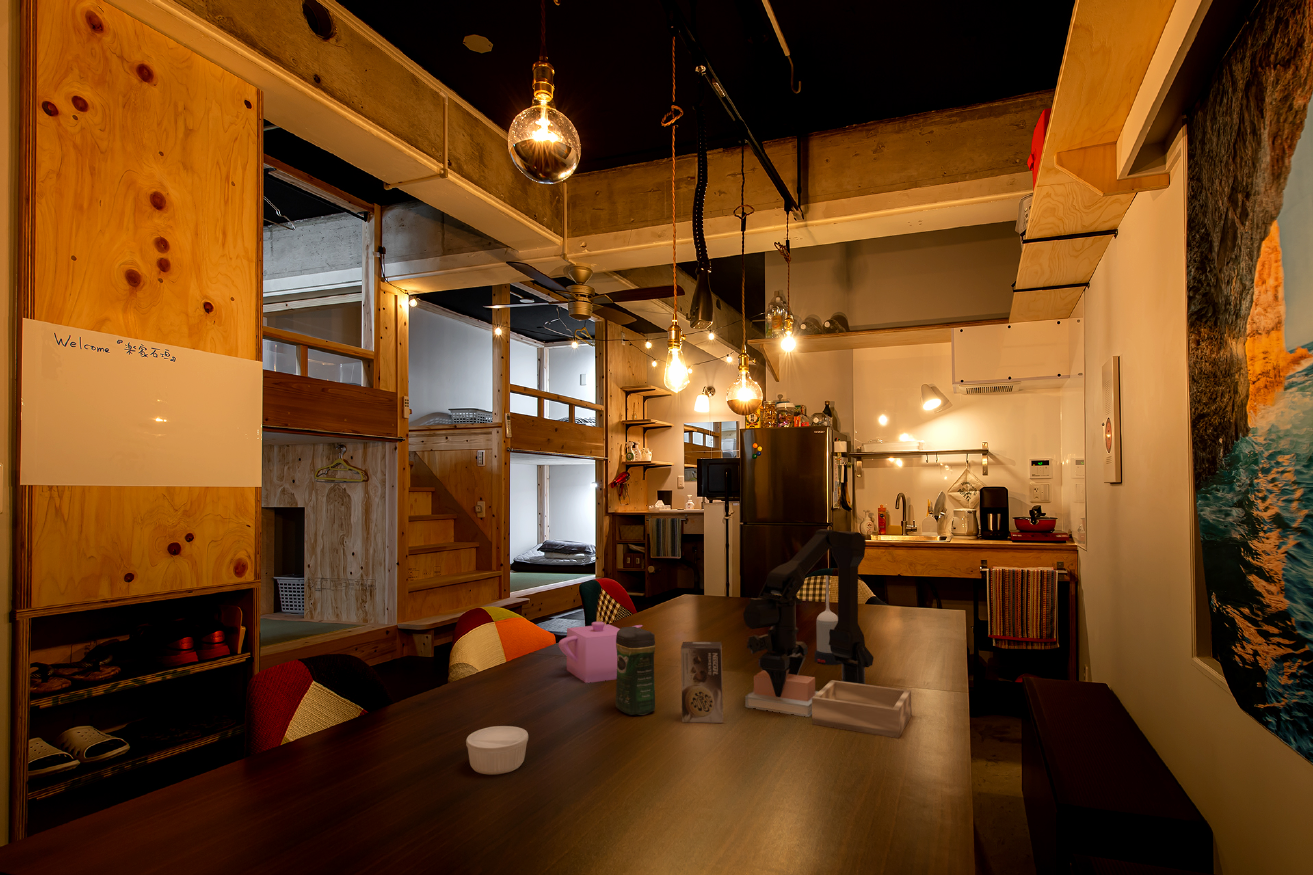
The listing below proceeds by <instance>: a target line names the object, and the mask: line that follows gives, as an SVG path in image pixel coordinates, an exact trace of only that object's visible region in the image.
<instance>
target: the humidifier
mask: <svg viewBox="0 0 1313 875" xmlns="http://www.w3.org/2000/svg"><path fill="white" fill-rule="evenodd" d="M829 588H830V587H829V576H828V575H826V576H825V610H824V611H822V612H821V613H819V615H818V616H817V618H816V649H815V650H814V662H815V663H816V662H817V664H820V665H827V666H838V665H842V663H841V662H836V661H834V657H833V654H832V652H831V649H830V645H829V639H830V636H829V631H830V629H834V628H835V626H836V624H837V623H838V614H835V613H834V612H832V611H831V610H830V590H829Z"/></svg>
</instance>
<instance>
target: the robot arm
mask: <svg viewBox="0 0 1313 875" xmlns="http://www.w3.org/2000/svg"><path fill="white" fill-rule="evenodd" d="M866 545H867V543H866V538H865V537H864V535H863V534H862V533H861V532H858V531H848V530H847V531H844V530H842V531H841V530H839V531H838V530H837V531H836V530H834V529H824V528H823V529H820V528H819V529H817V530H816V531H815V532H814V535H813V536H812V538H810V539H809V540H808V542H806V543H805V544H804V546H803V547H802V548H801V549H800V550H799V551H798V552H797V553H796V554H795V555H794V556H793V557H792V558H791V559H790V560H788V561H787V562H785V563H783V564H780V565H778V566H776V567H775V568H773V569H772V570H771V571H770V572H769V573H767V575H766V580H765V582H764V584H763V585H762V588H761V590H760V592H759V593H758V596H757V598H753V597H751V598H749V603H748V604H747V605H746V606H745V607H744V610H743V615H742V616H743V620H744V623H745V624H746V626H747V628H749V629H751V630H756V629H764V628H769V627H770V628H769V629H768V630H767V633H766V634H763V635H757V634H754V635H750V636H749V637H748V640H747V641H746V643H747V645H746V648H747V649H748V650H750V653H751V655H754V654H757V653H758V652H761V651H765V650H766V652H765V653H764V652H763V653H762V655H760V656H759V657H758V668H760V669H761V671H766V672H767V673H768V674H769V676H770V679H771V682H772V685H773V689H774V692H775V695H776V697H781V694H782V691H783V688H784V685H785V682H786V679H787V676H788V674H793V675H799V673H800V671H801V669H802V666H803V664H804V662H805V660H806V658H807V655H808V652H809V651H808V645H807V643H805V642H804V641H797V634H798V633H799V627H797V618H796V617H797V616H796V610H797V609H796V605H802V604H803V601H802V600H801V599H800V598H799V597H798V596H797V595H798V593H799V591H801V589H802V587H803V585H805V577H806V575H807V573H808V572H810V570H812V568H813V567H814V566H815V565H816V564H817V563H818V562H819V561H820V560H821V559H822V557H823V556H824V555H825V554H826V553H827V552H828V551H829V550H830V549H831V553H832V557H833V559H834V560H835V563H836V564H837V573H838V574H837V617H838V623H837V624H836V626H835V628H834V629H830V631H829V636H830V639H829V645H830V649H831V652H832V654H833V657H834V661H836V662H841V663H842V664H841V681H842V682H850V683H857V684H865V685H869V684H868V683H866V668H870V667H872V666H873V664H874V658H875V657H874V655H873V654H872V653H871V652H870V651H869V648H867V647H866V641H865V635H864V633H863V631H862V628H861V627H860V625H859V621H858V620H859V566H860V565H861V563H862V561H863V560H864V558H865V554H866Z"/></svg>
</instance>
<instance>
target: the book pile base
mask: <svg viewBox="0 0 1313 875" xmlns="http://www.w3.org/2000/svg"><path fill="white" fill-rule="evenodd" d="M818 692H819V691H818V690H815V695H816V694H817V693H818ZM744 697H745V698H744V700H745V704H744V705H745V708H749V709H753V708H756V710H761V711H766V710H768V712H772V711H773V713H779V712H780V713H779V714H787V715H791V714H794V715H793V716H797V717H799V716H800V717H804V716H805V717H806V718H809V717H811V716H812V698H813V697H814V696H813V697H812V698H811V699H810V700H809V701H801V700H794V699H788V698H781V697H774V696H767V695H760V694H754V690H752V691H751V692H749V693H748V694H747V695H745V696H744Z"/></svg>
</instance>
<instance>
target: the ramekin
mask: <svg viewBox="0 0 1313 875" xmlns="http://www.w3.org/2000/svg"><path fill="white" fill-rule="evenodd" d="M528 741H529V734H528V731H527V730H525V729H524V728H521V727H518V726H512V725H509V726H508V725H500V726H499V725H497V726H489V727H485V728H482V729H478V730H476V731H474V732H471V734H469V735H468V736H467V738H466V740H465V744H466V747H467V752H468V760H469V764H470V767H471V768H472V770H474V771H475V772H476V773H479V774H483V775H501V774H507V773H510V772H513V771H516V770H517V769H519V768H520V766H522V764H523V762H524V761H525V757H526V749H527V743H528Z"/></svg>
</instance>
